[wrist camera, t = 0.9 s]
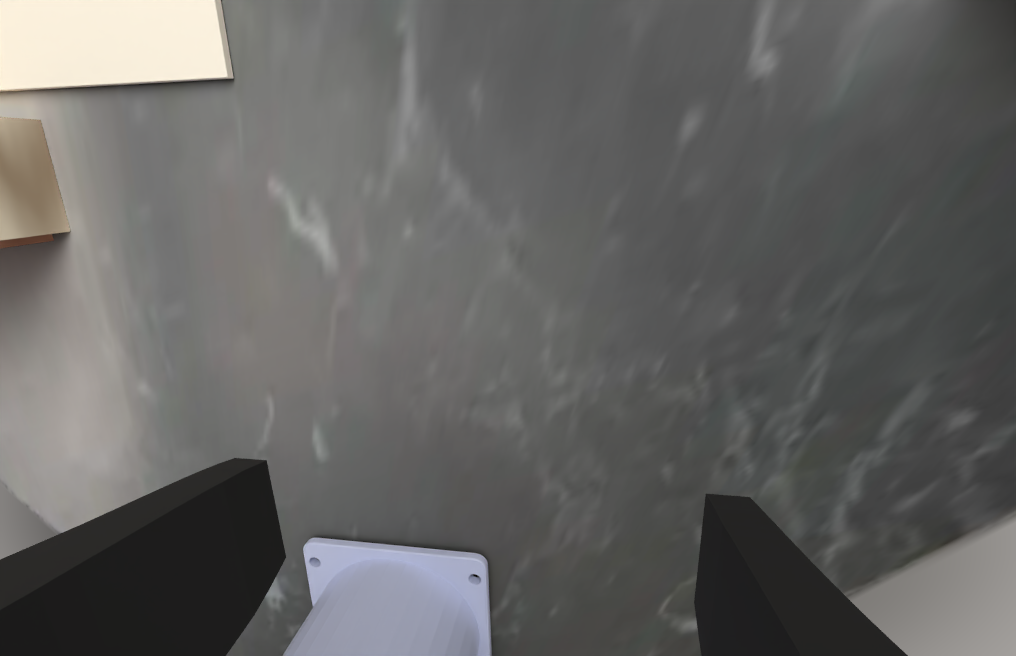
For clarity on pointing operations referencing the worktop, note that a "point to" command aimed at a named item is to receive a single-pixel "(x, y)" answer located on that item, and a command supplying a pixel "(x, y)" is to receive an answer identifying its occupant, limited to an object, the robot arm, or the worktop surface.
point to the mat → (110, 43)
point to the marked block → (27, 186)
